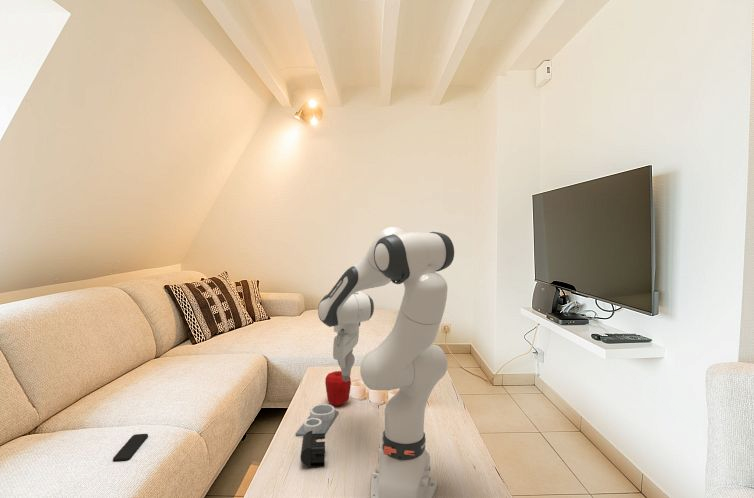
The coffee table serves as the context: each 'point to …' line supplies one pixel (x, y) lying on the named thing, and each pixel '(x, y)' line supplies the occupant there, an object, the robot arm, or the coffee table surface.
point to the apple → (337, 388)
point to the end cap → (313, 450)
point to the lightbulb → (347, 367)
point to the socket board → (318, 420)
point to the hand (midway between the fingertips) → (346, 364)
